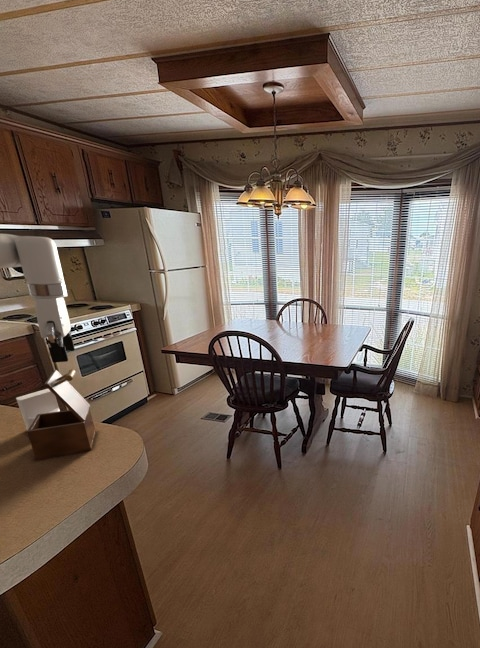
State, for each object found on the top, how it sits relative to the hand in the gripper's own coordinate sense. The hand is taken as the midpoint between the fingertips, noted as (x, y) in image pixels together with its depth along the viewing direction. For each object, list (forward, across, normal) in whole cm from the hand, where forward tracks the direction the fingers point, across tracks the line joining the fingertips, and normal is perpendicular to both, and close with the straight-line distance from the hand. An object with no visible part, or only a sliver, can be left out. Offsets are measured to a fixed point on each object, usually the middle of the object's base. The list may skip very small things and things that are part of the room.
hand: (64, 356), depth 91 cm
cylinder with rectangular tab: (+27, -13, -12) cm, 33 cm away
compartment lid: (+12, 0, -2) cm, 12 cm away
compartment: (+27, 0, -4) cm, 27 cm away
